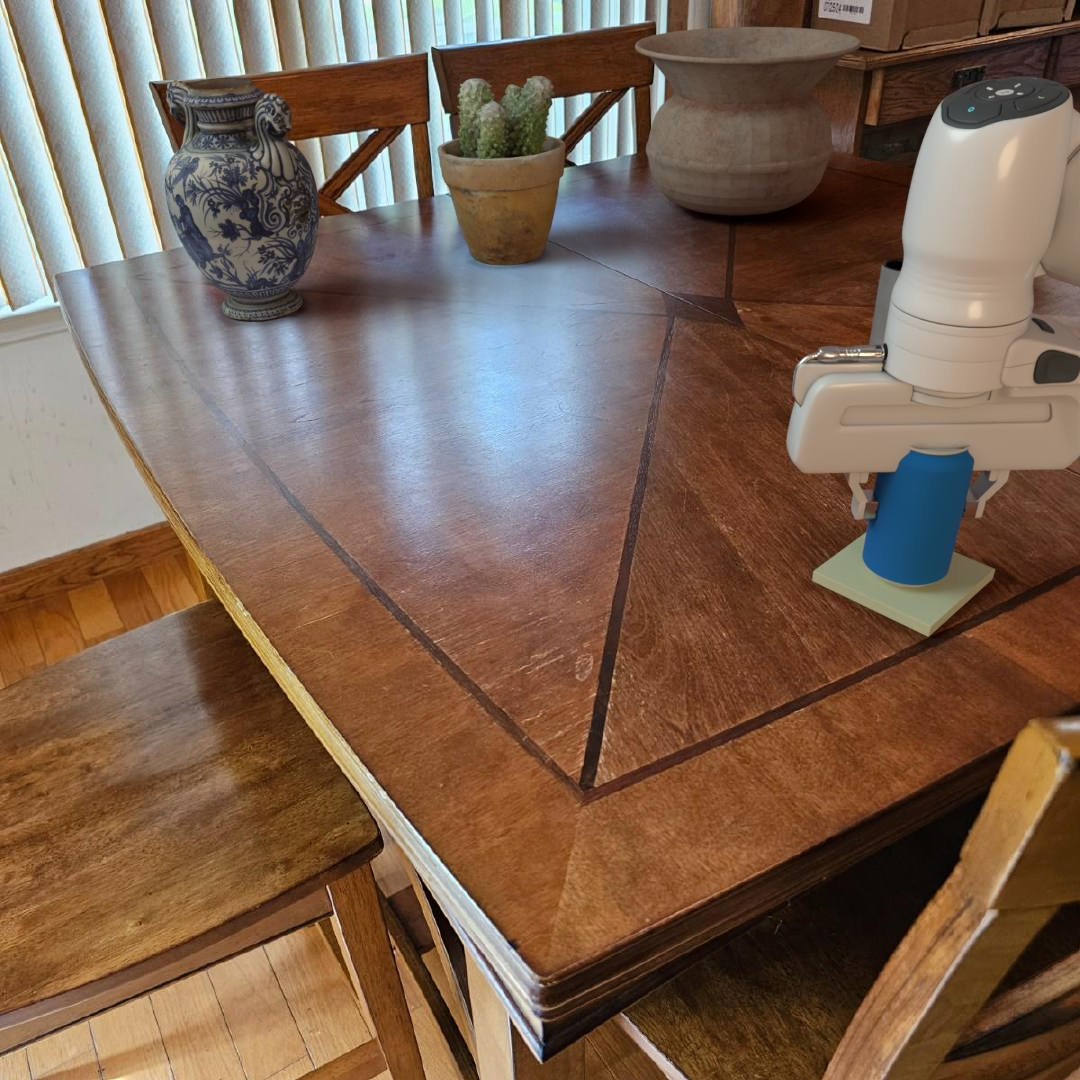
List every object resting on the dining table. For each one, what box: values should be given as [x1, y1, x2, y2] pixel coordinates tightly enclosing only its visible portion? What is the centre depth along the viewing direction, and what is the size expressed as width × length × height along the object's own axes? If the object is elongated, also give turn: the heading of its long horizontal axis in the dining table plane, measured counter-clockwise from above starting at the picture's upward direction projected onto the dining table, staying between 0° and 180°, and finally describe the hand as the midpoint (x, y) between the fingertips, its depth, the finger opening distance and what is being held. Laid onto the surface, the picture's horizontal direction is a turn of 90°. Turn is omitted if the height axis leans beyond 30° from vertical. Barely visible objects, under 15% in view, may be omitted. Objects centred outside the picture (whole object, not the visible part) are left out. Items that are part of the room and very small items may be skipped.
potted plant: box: [436, 75, 567, 266], centre depth 142 cm, size 18×19×25 cm
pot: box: [634, 26, 862, 216], centre depth 158 cm, size 34×34×25 cm
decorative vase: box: [164, 77, 320, 322], centre depth 126 cm, size 21×19×28 cm
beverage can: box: [862, 445, 974, 588], centre depth 74 cm, size 6×6×12 cm
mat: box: [811, 532, 996, 638], centre depth 78 cm, size 10×10×1 cm
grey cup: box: [868, 257, 904, 345], centre depth 112 cm, size 4×4×10 cm
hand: (915, 515), depth 75 cm, fingers closed on beverage can, 6 cm apart
